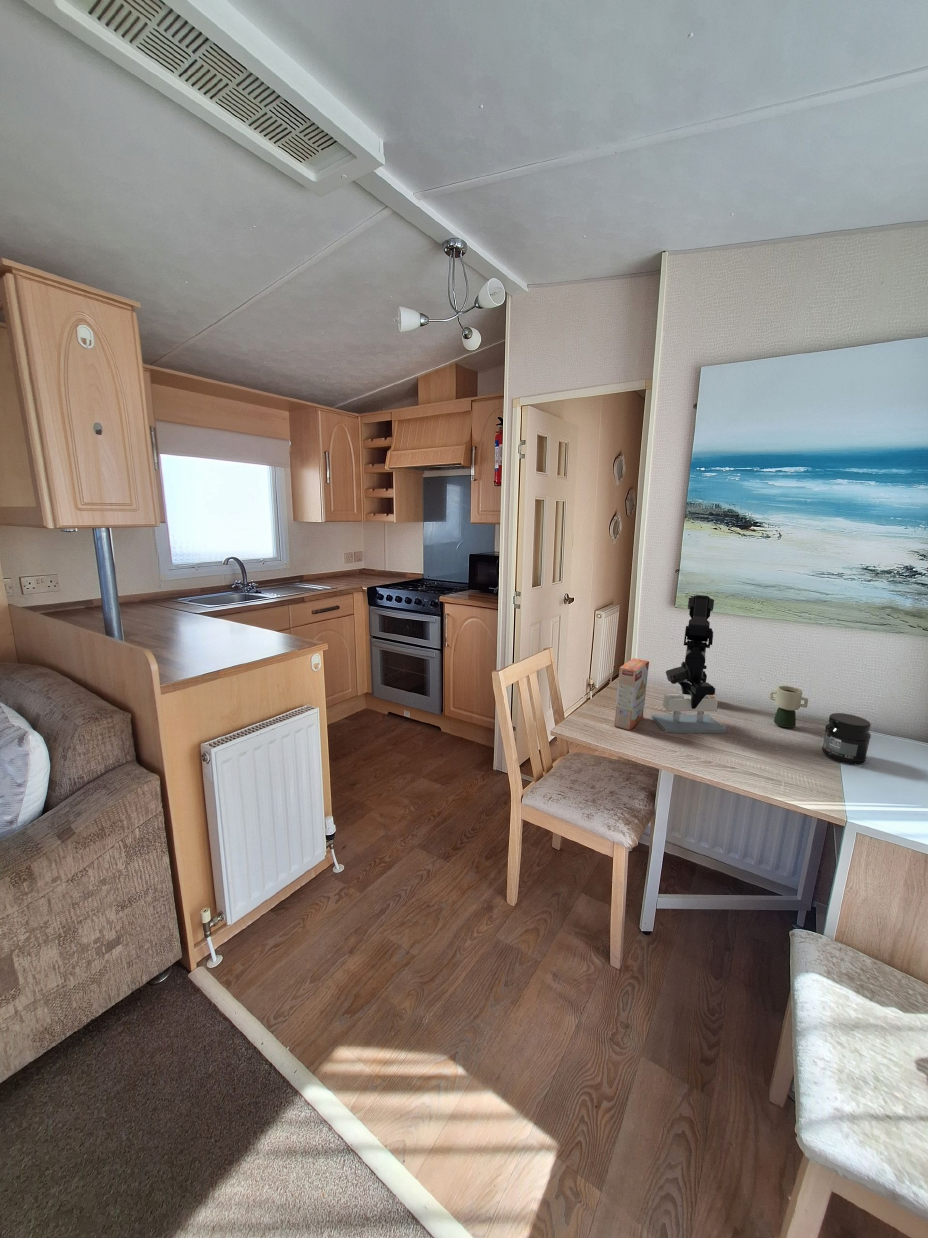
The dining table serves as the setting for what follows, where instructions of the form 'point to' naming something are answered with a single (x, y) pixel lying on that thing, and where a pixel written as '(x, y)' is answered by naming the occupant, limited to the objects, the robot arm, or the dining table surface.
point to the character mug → (787, 705)
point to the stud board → (688, 723)
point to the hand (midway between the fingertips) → (689, 705)
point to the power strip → (688, 703)
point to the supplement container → (846, 738)
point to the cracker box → (631, 693)
